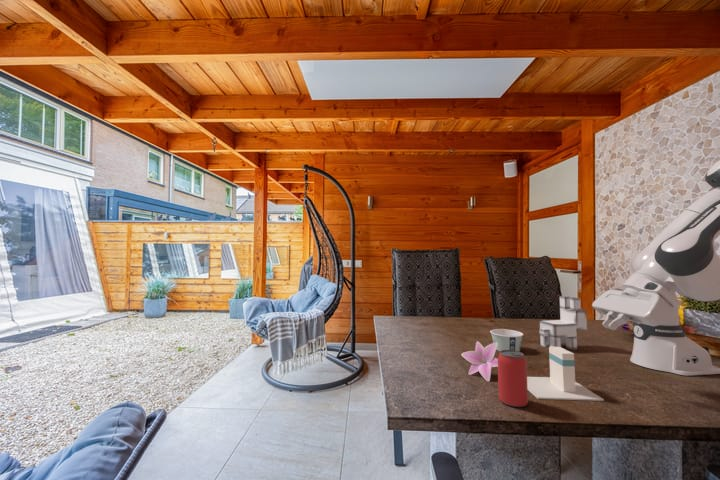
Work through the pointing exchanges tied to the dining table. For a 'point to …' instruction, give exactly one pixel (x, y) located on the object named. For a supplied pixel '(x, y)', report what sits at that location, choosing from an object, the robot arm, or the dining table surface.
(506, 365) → the beer can
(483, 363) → the lily
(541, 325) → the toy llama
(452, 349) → the dining table surface
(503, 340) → the food container
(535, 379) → the mat
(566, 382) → the card box
